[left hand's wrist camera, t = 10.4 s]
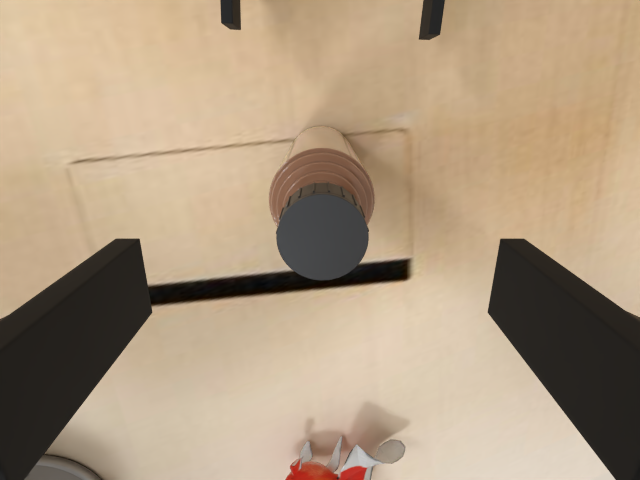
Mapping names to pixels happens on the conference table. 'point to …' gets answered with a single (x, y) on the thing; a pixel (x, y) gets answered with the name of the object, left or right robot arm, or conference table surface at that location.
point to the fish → (357, 468)
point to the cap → (322, 231)
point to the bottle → (321, 169)
